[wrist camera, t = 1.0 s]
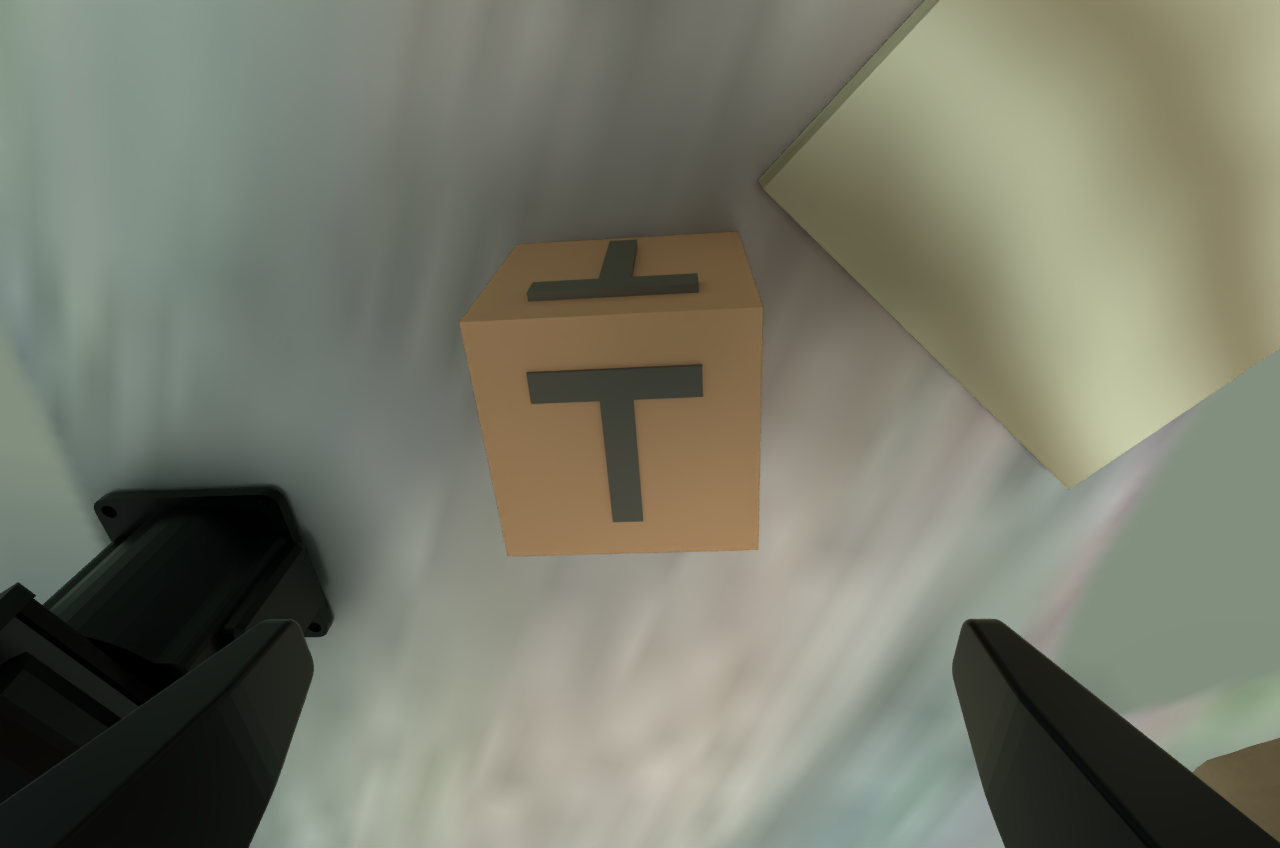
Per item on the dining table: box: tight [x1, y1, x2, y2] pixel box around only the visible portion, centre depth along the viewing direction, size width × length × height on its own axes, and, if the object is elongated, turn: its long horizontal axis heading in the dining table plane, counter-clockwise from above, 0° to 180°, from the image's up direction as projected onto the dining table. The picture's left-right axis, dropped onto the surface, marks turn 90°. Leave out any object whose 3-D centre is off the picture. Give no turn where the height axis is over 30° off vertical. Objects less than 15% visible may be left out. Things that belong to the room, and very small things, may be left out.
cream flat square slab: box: [758, 0, 1280, 490], centre depth 17 cm, size 13×13×1 cm
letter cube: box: [459, 231, 763, 556], centre depth 18 cm, size 6×6×6 cm
